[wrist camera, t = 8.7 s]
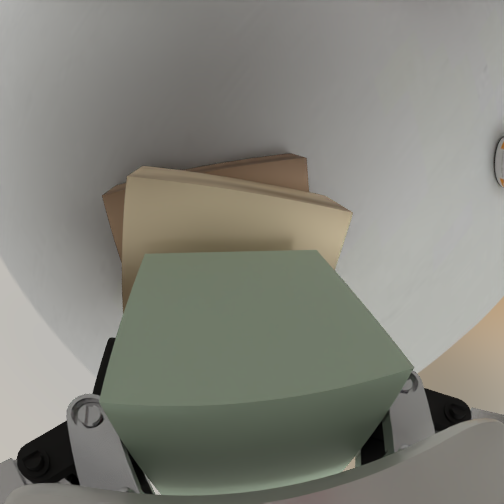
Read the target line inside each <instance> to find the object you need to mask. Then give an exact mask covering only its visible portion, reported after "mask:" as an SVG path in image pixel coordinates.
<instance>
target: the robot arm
mask: <svg viewBox="0 0 504 504" xmlns="http://www.w3.org/2000/svg"><path fill="white" fill-rule="evenodd" d="M115 339H116V338H109V340H108V342H107V345H106V348H105V351H104V355H103V358H102V361H101V365H100V368H99V372H98V375H97V379H96V382H95V386H94V390H93V394H84V395H81V396H78V397H77V398H75V399H74V400H73V401H72V402H71V403H70V404H69V406H68V409H67V421H65V422H64V423H62V424H60V425H58V426H57V427H55V428H53V429H52V430H50V431H48V432H46V433H45V434H43V435H41V436H40V437H38V438H36V439H35V440H33V441H31V442H29V443H27V444H26V445H25V446H23V447H22V448H21V449H20V451H19V452H18V456H17V459H16V460H13V459H12V458H10V459H8V460H6V461H4V462H2V463H0V504H504V415H502V414H497V413H493V412H489V411H484V410H480V409H476V408H471V409H469V407H468V405H467V404H466V403H465V402H463V401H462V400H460V399H458V398H454V397H451V396H448V395H444V394H441V393H438V392H435V391H432V390H429V389H425V388H424V387H423V383H422V380H421V378H420V376H419V375H418V374H417V373H416V372H415V371H413V370H412V372H411V374H410V376H409V377H408V379H407V381H406V383H405V384H404V386H403V388H402V389H401V391H400V393H399V394H398V396H397V398H396V399H395V401H394V402H393V404H392V406H391V407H390V409H389V410H388V412H387V413H386V415H385V416H384V418H383V419H382V421H381V422H380V423H379V425H378V426H377V428H376V429H375V431H374V432H373V433H372V435H371V436H370V437H369V439H368V440H367V441H366V443H365V444H364V445H363V447H362V448H361V449H360V450H359V452H358V453H357V454H356V456H355V460H356V462H355V468H353V469H350V470H347V471H344V472H340V473H337V474H334V475H330V476H327V477H323V478H319V479H315V480H311V481H307V482H303V483H298V484H293V485H288V486H283V487H278V488H272V489H265V490H259V491H251V492H242V493H232V494H219V495H191V496H182V495H155V492H154V490H153V488H152V486H151V484H150V482H149V479H148V477H147V476H146V475H145V473H144V472H143V471H142V469H141V468H140V467H139V465H138V464H137V462H136V461H135V460H134V458H133V457H132V455H131V454H130V452H129V451H128V449H127V448H126V446H125V445H124V443H123V442H122V440H121V439H120V437H119V436H118V434H117V432H116V431H115V429H114V428H113V426H112V424H111V423H110V421H109V419H108V417H107V416H106V414H105V412H104V410H103V409H102V407H101V405H100V403H99V400H100V395H101V391H102V387H103V383H104V379H105V375H106V371H107V367H108V364H109V360H110V356H111V353H112V349H113V346H114V342H115Z"/></svg>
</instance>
